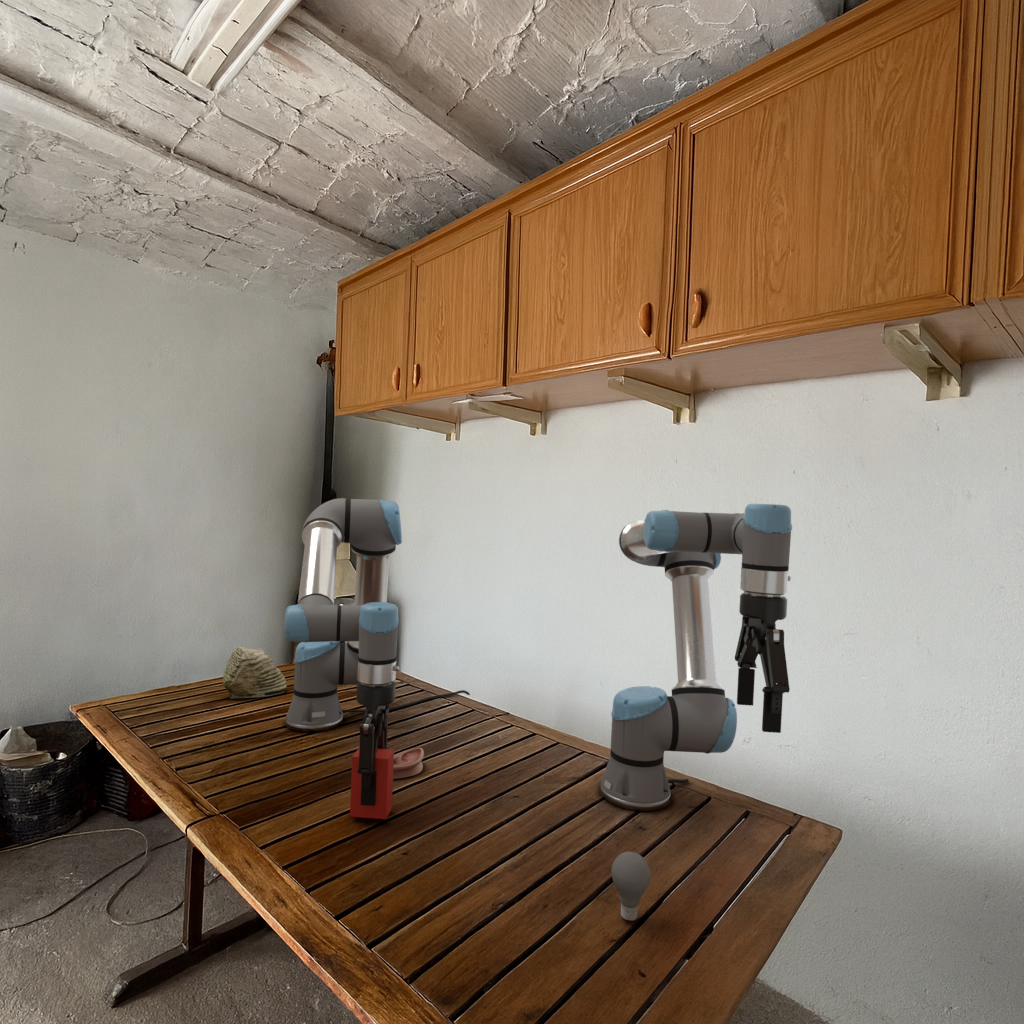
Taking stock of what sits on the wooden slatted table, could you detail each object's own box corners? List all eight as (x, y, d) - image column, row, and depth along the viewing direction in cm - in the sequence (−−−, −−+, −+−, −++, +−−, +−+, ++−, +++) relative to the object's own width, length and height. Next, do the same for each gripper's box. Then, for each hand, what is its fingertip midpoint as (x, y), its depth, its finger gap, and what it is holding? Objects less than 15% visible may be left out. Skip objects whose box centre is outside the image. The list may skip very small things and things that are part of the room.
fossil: (218, 695, 195) (220, 647, 195) (278, 685, 208) (279, 640, 207) (228, 703, 189) (230, 653, 188) (289, 692, 201) (290, 645, 201)
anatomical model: (356, 758, 144) (377, 740, 155) (356, 775, 144) (376, 756, 155) (412, 766, 141) (429, 746, 152) (411, 783, 141) (428, 763, 153)
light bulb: (605, 905, 101) (608, 843, 101) (642, 905, 102) (645, 843, 102) (614, 931, 95) (617, 865, 95) (653, 930, 96) (656, 865, 96)
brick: (349, 816, 124) (352, 756, 124) (357, 805, 129) (359, 747, 128) (385, 819, 124) (388, 759, 123) (391, 807, 128) (394, 749, 128)
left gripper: (383, 696, 116) (378, 822, 117) (405, 670, 134) (400, 779, 135) (343, 694, 117) (338, 819, 117) (370, 668, 135) (366, 777, 135)
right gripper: (817, 607, 96) (809, 746, 96) (761, 585, 120) (755, 696, 121) (766, 604, 96) (759, 743, 96) (721, 583, 121) (715, 693, 121)
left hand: (371, 797), depth 126 cm, fingers closed on brick, 5 cm apart
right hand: (757, 717), depth 109 cm, fingers open, 13 cm apart
